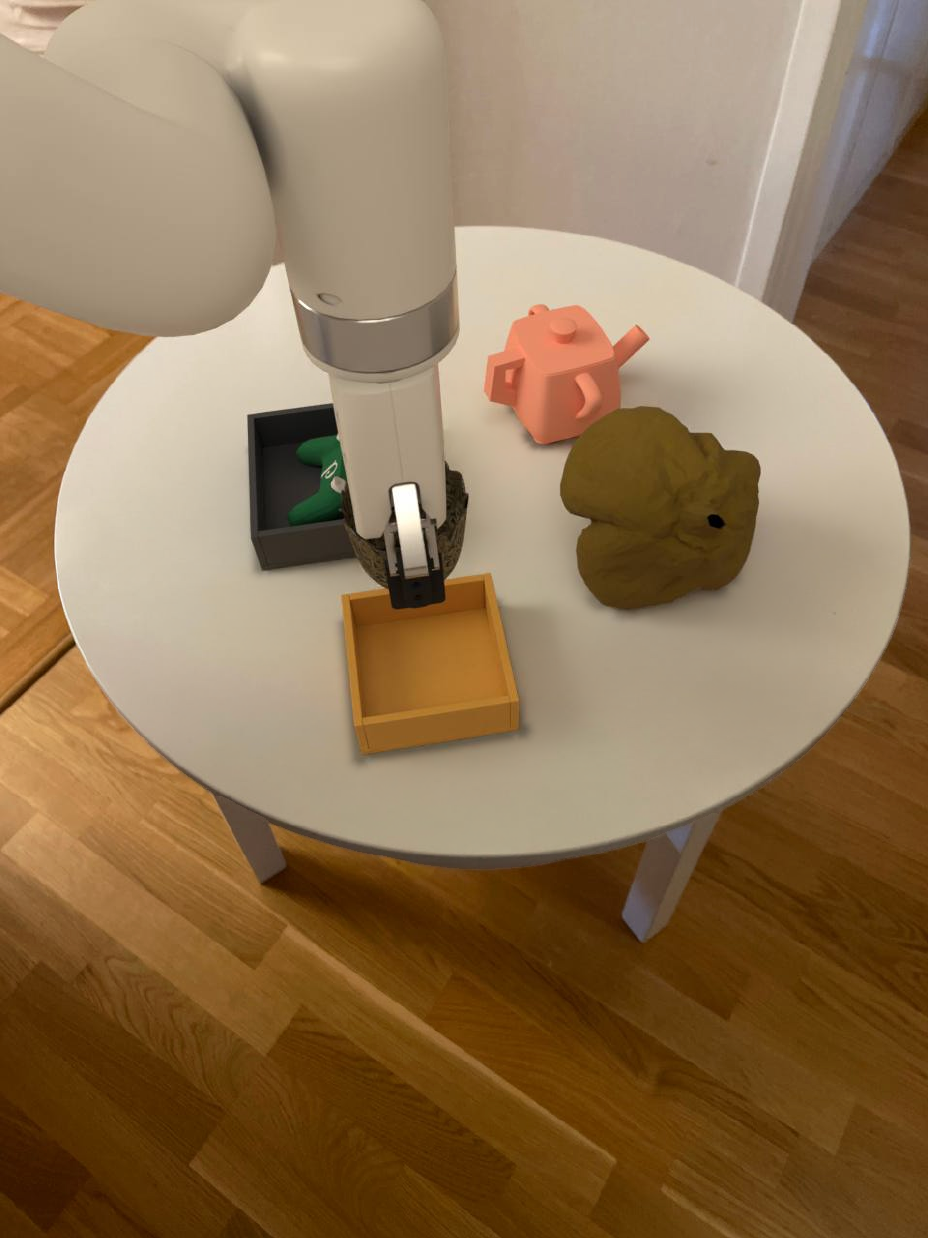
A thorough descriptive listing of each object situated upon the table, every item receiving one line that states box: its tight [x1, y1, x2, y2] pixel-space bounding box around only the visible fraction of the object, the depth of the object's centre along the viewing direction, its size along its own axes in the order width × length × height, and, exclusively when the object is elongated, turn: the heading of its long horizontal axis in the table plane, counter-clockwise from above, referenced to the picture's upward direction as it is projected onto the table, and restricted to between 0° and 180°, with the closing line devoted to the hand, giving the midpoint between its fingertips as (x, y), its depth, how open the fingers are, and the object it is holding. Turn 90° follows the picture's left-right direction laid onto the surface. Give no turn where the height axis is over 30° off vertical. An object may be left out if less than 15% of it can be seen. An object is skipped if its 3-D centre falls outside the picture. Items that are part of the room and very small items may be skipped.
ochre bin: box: [340, 572, 520, 755], centre depth 67 cm, size 11×11×4 cm
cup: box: [339, 460, 470, 589], centre depth 56 cm, size 8×7×8 cm
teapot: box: [483, 303, 651, 445], centre depth 81 cm, size 12×12×10 cm
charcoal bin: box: [246, 402, 357, 571], centre depth 78 cm, size 12×14×4 cm
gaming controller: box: [286, 434, 347, 527], centre depth 78 cm, size 9×4×6 cm
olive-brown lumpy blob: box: [559, 405, 762, 611], centre depth 69 cm, size 14×14×14 cm
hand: (410, 549), depth 57 cm, fingers closed on cup, 7 cm apart
